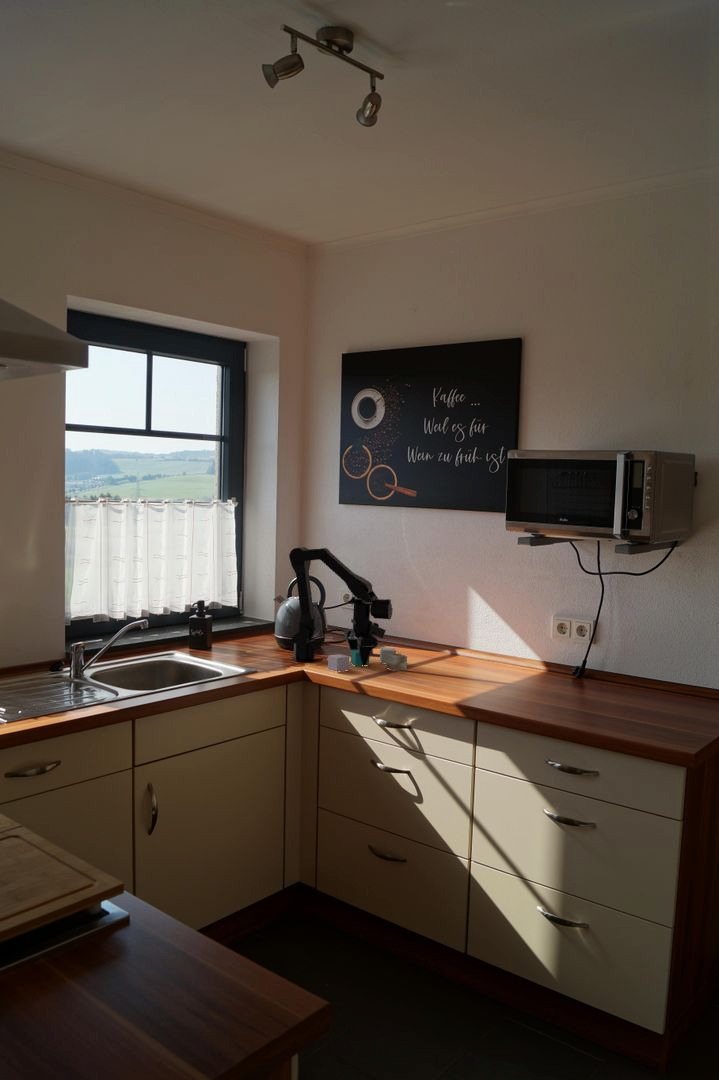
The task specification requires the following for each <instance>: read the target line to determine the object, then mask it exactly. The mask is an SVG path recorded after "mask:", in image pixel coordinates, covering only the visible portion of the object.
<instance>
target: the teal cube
mask: <svg viewBox="0 0 719 1080" xmlns="http://www.w3.org/2000/svg"><path fill="white" fill-rule="evenodd" d="M370 656H371V655H370V654H369V657H368V660H367V663H366V665H369V666H370ZM351 663H352V664H353V665H355V666H362V665H363V664H362V661H361V657H360V654H359V650H350V664H351ZM352 664H351V665H352ZM353 665H352V666H353ZM355 666H354V667H355ZM363 666H364V665H363Z"/></svg>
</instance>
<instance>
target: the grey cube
mask: <svg viewBox="0 0 719 1080" xmlns="http://www.w3.org/2000/svg"><path fill="white" fill-rule="evenodd" d="M379 650H380V651H379V654H380V655H379V662H380V661H381V662H380V664H381V663H387V654H397V649H396V648H395V647H382V646H381V647H380V649H379Z"/></svg>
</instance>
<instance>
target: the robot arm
mask: <svg viewBox="0 0 719 1080" xmlns="http://www.w3.org/2000/svg"><path fill="white" fill-rule="evenodd" d="M288 557H289V561H290V565H291V567H292V569H293V571H294V573H295V577H296V578H295V579H296V585H297V593H298V600H299V609H300V616H299V621H298V631H297V632H296V633H295V634H294V635H293V636H292V637H291V639H292V644H293V655H292V656H291V659H292V660H294V661H296V662H313V661H315V651H316V650H315V646H314V642H313V641H315V639H316V637H317V636H318V635H319V634H320V631H321V629H322V624H321V616H316V614H315V612H314V607H313V606H314V605H313V596H312V588H311V580H310V567H311V564H312V562H311V561H317V560H319V561H321V562H322V563H323V564H324V565H326V566H327V568H329V569H330V570H331V571H332V572H333V573H334V574H335V575H336V576H337V577H339V578H340V579H341V580H342V581H343V582H344V583H345V585H346V586H347V589H348V590H349V591H350V592H351V594H352V595H353V596H352V597H351V599H349V600H348V601H347V603H348V604H349V605H350V604H351V605H353V609H352V610H353V612H352V613H353V616H352V618H351V621H350V622H351V623H352V628H347V629H345V630H344V638H345V641H346V643H347V645H348V647H349V650H350V651H351V650H359V654H360V657H361V661H362V664H363V665H366V663H367V660H368V657H369V654H370V652H371V650H372V649H373V650H374V649H375V648H377V647H378V646H379V640H378V639H377V638H379V639H384V637H385V634H386V629H384V628H382V627H380V625H379V623H377V622H375V621H374V622H373V621H372V620H371V619H370V618H371V617H373V619H380V620H391V619H392V616H393V604H392V600H391V598H388V599H383V598H382V599H381V598H379V597H378V596H377V595H376V593H375V592H374V590H373V584H372V582H370V581H369V580H367V579H366V578H364V577H362V576H360V575H358V574H357V573H355V572H353V571H352V569H350V568H349V567H348V566H347V565H345V564H344V562H342V561H341V560H340V559H338V557H336V556H335V555H334V554H333V553H332V552H331V551H330V550H329V548H327V547H323V548H311V549H309V548H307V547H305V546H300V547H295V548H293V549H291V551H290V552H289V555H288ZM372 634H373V635H374V637H373V636H372ZM376 637H377V638H376ZM369 658H370V657H369Z"/></svg>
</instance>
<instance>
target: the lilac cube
mask: <svg viewBox="0 0 719 1080" xmlns="http://www.w3.org/2000/svg"><path fill="white" fill-rule="evenodd" d="M327 658H328V659H327V670H328V669H329V670H333V671H337V672H338V671H345V670H349V671H350V655H349V656H348V655H344V654H342V653H341V654H340V653H339V654H330V655H328V657H327ZM329 670H328V671H329Z"/></svg>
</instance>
